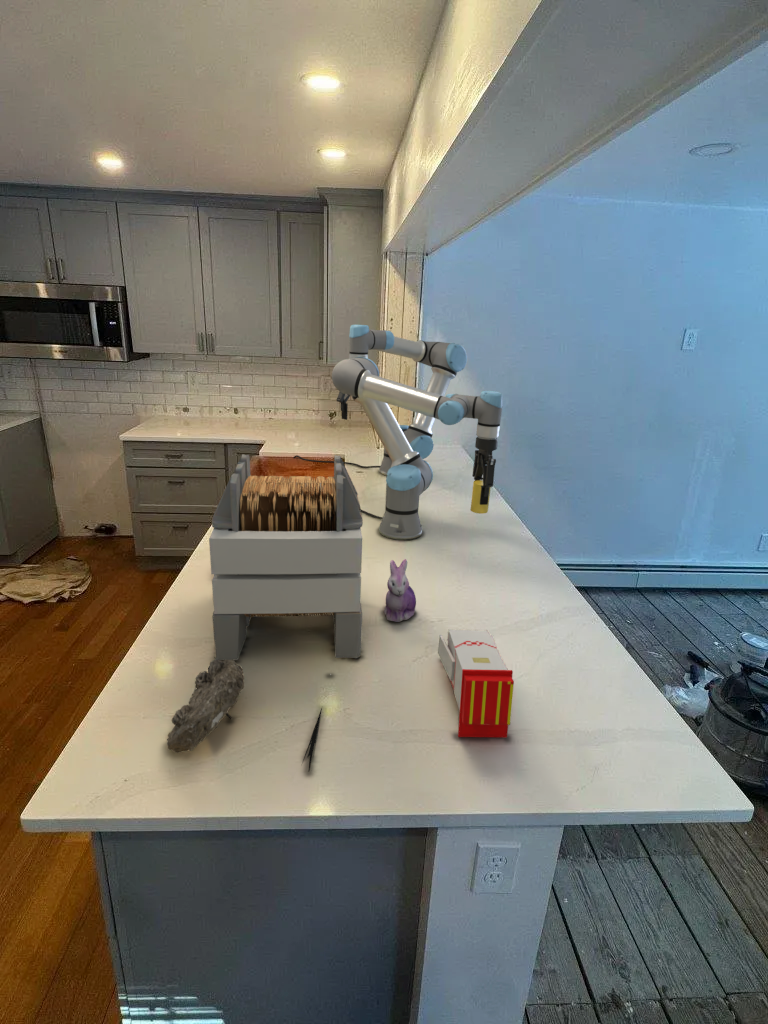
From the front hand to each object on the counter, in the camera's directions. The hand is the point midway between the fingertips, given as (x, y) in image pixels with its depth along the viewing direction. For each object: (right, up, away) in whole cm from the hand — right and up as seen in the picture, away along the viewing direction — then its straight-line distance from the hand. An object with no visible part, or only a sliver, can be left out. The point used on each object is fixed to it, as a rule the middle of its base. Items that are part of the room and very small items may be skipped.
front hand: (480, 501), depth 202 cm
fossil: (-67, -43, -94) cm, 123 cm away
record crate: (-57, -31, -60) cm, 89 cm away
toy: (-16, -42, -83) cm, 94 cm away
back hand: (-45, +35, +33) cm, 67 cm away
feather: (-47, -44, -93) cm, 113 cm away
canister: (0, -3, +1) cm, 4 cm away
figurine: (-30, -31, -54) cm, 69 cm away
